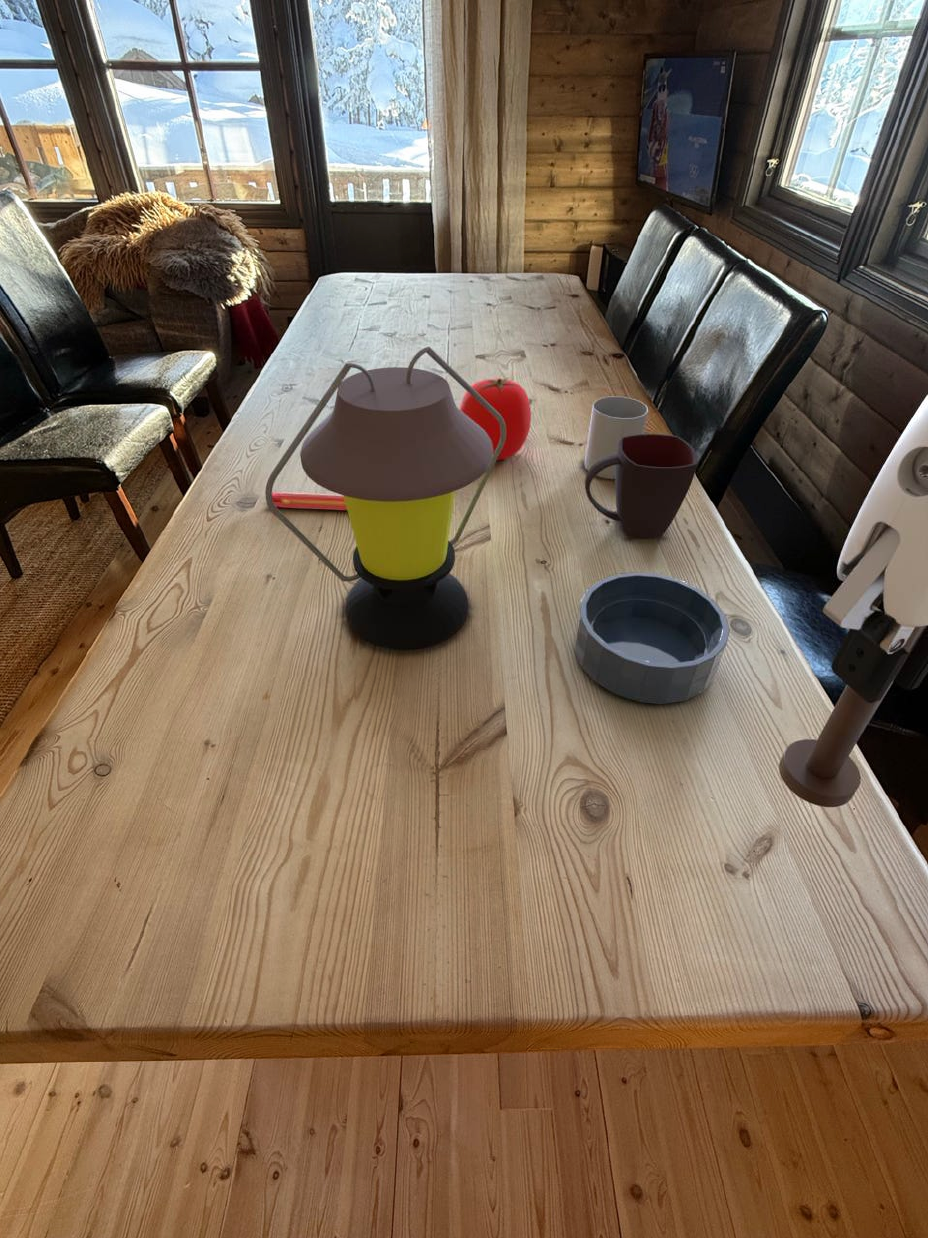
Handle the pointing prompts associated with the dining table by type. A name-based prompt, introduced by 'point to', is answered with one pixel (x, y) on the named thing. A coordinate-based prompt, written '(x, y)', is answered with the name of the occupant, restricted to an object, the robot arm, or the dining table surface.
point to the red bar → (309, 501)
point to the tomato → (508, 404)
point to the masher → (833, 749)
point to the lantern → (397, 495)
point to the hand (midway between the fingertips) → (872, 677)
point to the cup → (612, 428)
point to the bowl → (650, 637)
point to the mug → (647, 482)
